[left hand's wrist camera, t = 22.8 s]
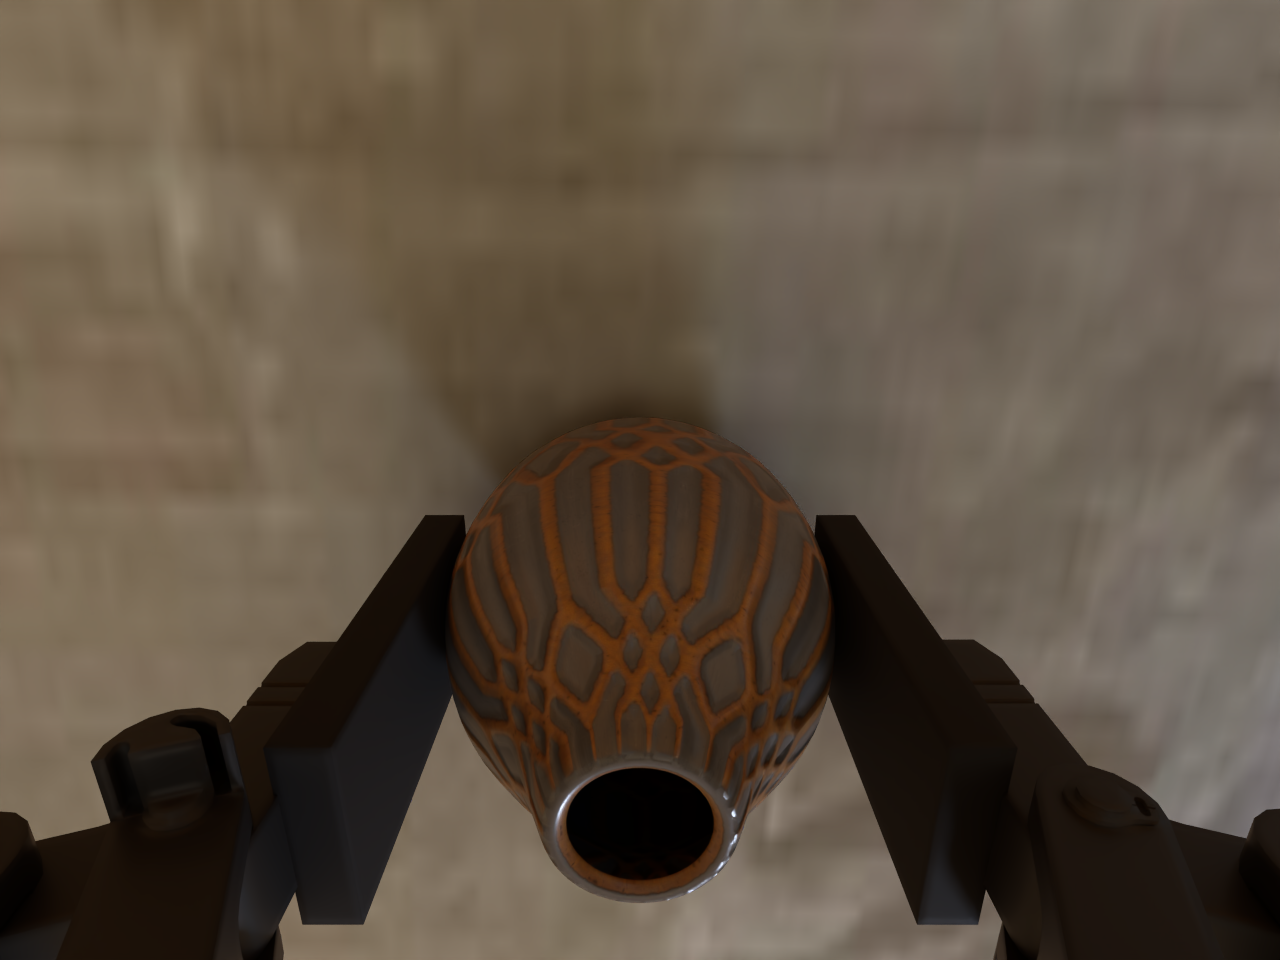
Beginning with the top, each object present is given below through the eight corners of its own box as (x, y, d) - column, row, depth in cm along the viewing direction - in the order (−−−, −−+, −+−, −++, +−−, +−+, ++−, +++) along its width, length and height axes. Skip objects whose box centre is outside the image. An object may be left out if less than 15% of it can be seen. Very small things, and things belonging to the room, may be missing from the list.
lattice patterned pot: (480, 383, 16) (303, 575, 7) (800, 383, 16) (977, 575, 7) (501, 656, 18) (384, 1029, 10) (778, 656, 18) (893, 1029, 10)
